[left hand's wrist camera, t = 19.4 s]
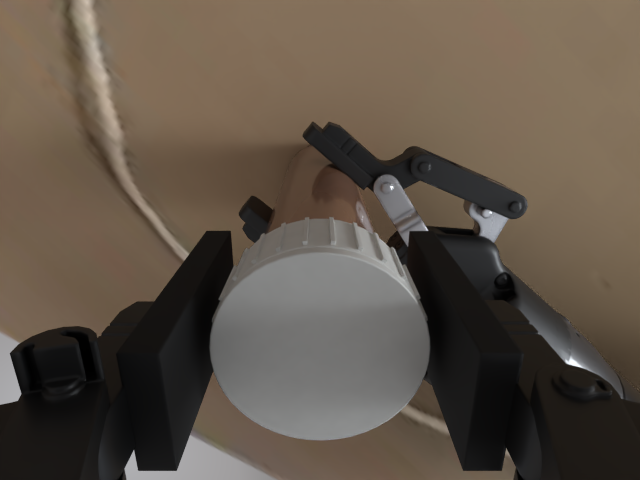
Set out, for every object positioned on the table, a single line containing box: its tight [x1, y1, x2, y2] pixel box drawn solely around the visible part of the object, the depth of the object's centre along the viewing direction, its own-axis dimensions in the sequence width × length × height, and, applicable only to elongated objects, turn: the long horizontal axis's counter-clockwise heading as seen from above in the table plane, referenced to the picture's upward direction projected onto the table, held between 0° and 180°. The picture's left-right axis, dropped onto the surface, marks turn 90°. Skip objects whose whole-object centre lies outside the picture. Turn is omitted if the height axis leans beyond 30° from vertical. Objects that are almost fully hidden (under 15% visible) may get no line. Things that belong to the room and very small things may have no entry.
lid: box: [209, 217, 430, 440], centre depth 11 cm, size 5×5×2 cm
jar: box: [265, 145, 375, 235], centre depth 19 cm, size 4×4×18 cm
